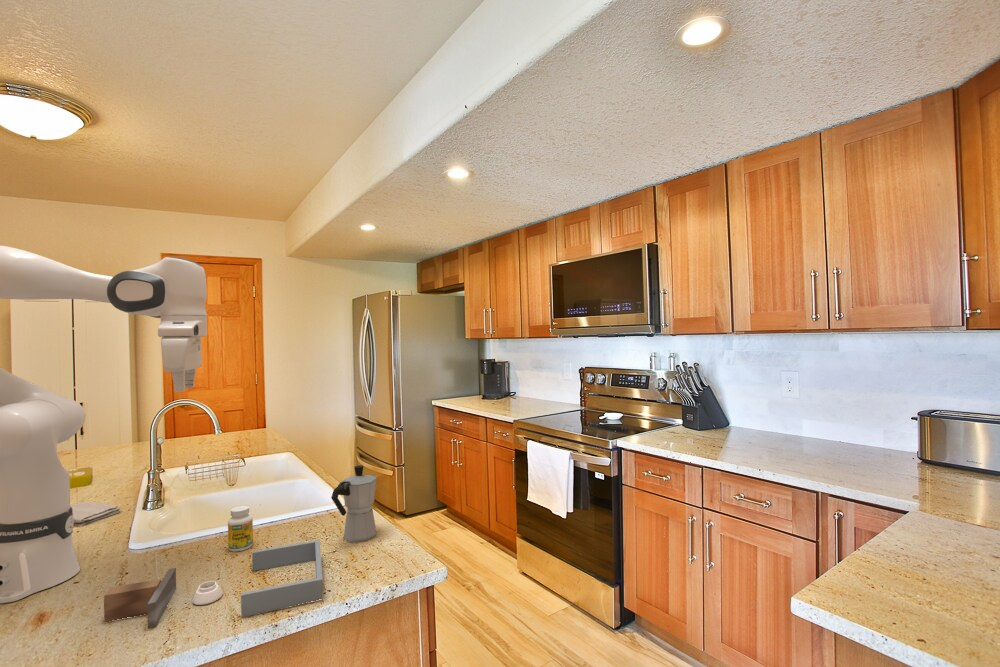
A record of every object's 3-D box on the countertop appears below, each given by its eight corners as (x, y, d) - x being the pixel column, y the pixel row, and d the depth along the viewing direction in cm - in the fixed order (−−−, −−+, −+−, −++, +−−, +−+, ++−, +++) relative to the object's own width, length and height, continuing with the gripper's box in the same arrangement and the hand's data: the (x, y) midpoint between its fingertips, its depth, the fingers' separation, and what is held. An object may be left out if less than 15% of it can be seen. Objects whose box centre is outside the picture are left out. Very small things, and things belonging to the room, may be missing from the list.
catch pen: (241, 617, 87) (240, 595, 87) (252, 569, 105) (252, 551, 105) (322, 600, 92) (322, 579, 92) (320, 557, 111) (319, 539, 111)
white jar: (187, 602, 92) (201, 609, 90) (187, 587, 92) (201, 594, 90) (213, 590, 97) (227, 596, 94) (213, 576, 97) (227, 581, 94)
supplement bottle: (251, 540, 120) (251, 503, 121) (254, 548, 116) (253, 509, 116) (227, 546, 118) (226, 507, 118) (229, 554, 113) (228, 514, 113)
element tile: (92, 477, 184) (92, 465, 184) (91, 486, 172) (91, 473, 172) (39, 485, 174) (38, 472, 174) (33, 495, 162) (33, 481, 162)
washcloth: (82, 528, 132) (82, 517, 132) (32, 525, 136) (32, 514, 136) (124, 513, 144) (124, 503, 144) (77, 510, 147) (77, 500, 147)
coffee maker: (366, 524, 130) (365, 458, 130) (390, 530, 126) (389, 462, 126) (321, 544, 117) (320, 472, 117) (345, 552, 113) (344, 476, 113)
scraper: (91, 640, 81) (91, 611, 81) (121, 599, 94) (121, 574, 94) (155, 627, 84) (155, 599, 84) (176, 589, 97) (175, 565, 97)
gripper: (178, 330, 116) (179, 386, 116) (155, 327, 97) (155, 395, 97) (208, 330, 118) (209, 385, 118) (191, 327, 99) (191, 393, 99)
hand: (184, 390), depth 107 cm, fingers open, 8 cm apart
